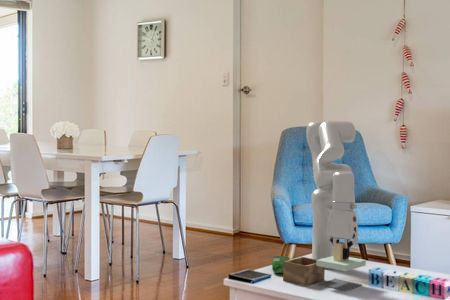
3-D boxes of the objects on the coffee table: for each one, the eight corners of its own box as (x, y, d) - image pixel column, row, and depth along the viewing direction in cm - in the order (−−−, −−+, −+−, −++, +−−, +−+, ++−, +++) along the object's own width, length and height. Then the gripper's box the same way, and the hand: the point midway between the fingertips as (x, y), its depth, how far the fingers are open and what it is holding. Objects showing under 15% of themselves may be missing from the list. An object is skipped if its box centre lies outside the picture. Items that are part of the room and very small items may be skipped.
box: (301, 275, 218) (302, 256, 218) (324, 280, 211) (324, 261, 211) (282, 280, 209) (283, 261, 209) (305, 286, 202) (306, 266, 202)
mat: (335, 279, 212) (335, 278, 212) (362, 285, 205) (362, 284, 205) (318, 285, 204) (318, 284, 204) (346, 291, 196) (346, 290, 196)
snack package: (271, 276, 216) (271, 262, 216) (272, 266, 232) (272, 253, 231) (290, 277, 215) (290, 263, 215) (289, 267, 231) (290, 254, 231)
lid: (336, 260, 213) (337, 238, 212) (365, 265, 205) (366, 243, 205) (316, 265, 202) (316, 243, 202) (345, 271, 194) (346, 247, 194)
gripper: (368, 208, 201) (367, 260, 201) (328, 203, 211) (327, 253, 212) (358, 209, 195) (356, 263, 195) (317, 205, 206) (316, 256, 206)
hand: (341, 257), depth 204 cm, fingers closed on lid, 2 cm apart
